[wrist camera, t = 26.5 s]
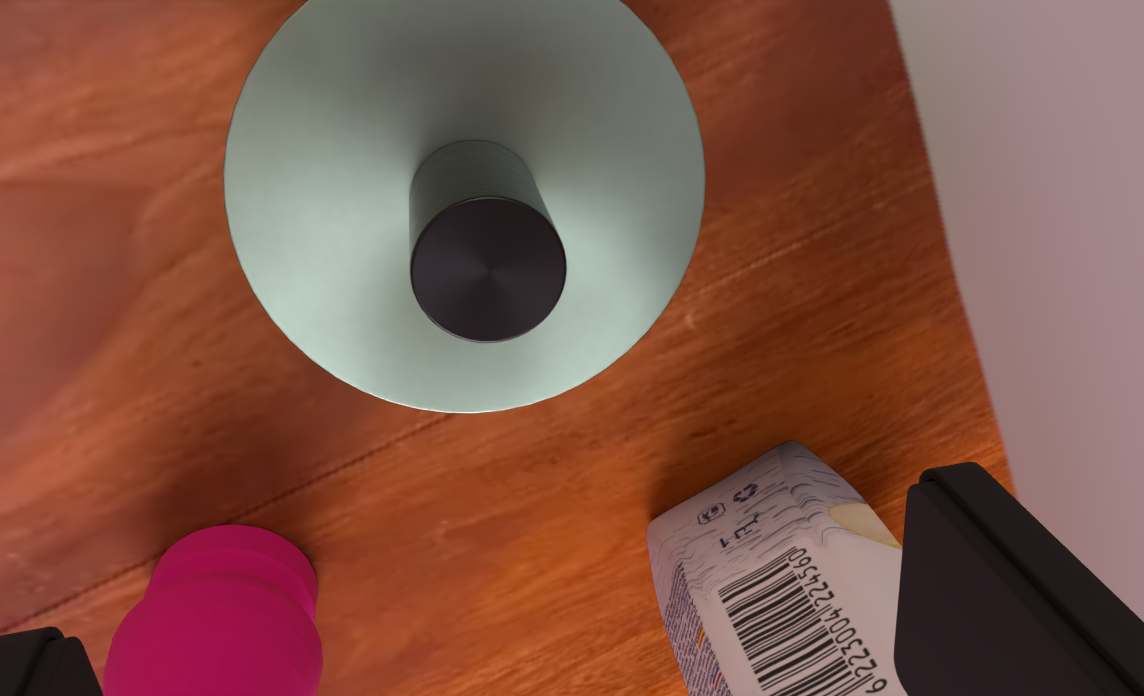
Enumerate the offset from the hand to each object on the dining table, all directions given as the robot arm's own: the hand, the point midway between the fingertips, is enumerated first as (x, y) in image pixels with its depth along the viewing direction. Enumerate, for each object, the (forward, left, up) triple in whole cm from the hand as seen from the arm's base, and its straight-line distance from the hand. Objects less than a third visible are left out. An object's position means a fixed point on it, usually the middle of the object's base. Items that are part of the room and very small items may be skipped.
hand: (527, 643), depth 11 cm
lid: (+1, 0, -18) cm, 18 cm away
